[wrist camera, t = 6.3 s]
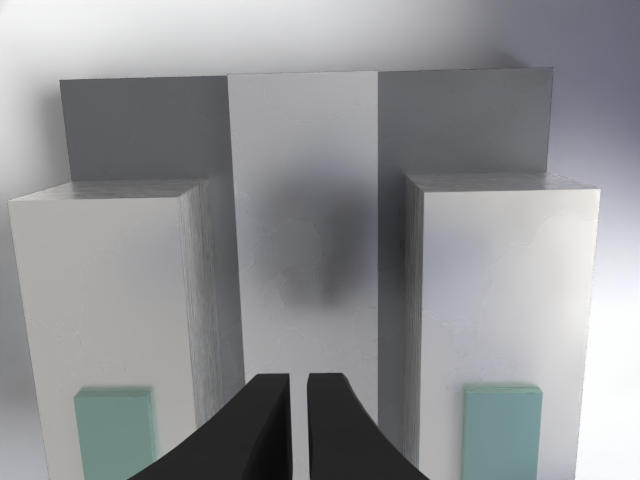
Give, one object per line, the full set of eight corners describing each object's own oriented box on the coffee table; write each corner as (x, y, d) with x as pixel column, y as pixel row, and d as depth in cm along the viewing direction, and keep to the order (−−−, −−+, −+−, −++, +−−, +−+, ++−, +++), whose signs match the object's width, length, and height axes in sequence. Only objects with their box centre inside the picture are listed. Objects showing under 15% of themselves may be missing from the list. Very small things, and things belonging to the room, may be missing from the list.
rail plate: (506, 496, 18) (565, 630, 14) (132, 498, 19) (66, 630, 14) (532, 70, 15) (618, 56, 11) (85, 82, 16) (-20, 72, 11)
